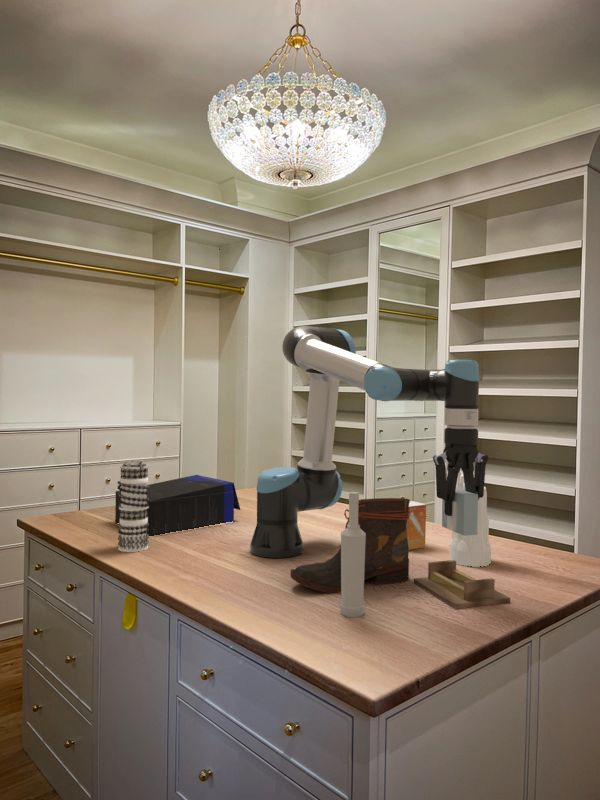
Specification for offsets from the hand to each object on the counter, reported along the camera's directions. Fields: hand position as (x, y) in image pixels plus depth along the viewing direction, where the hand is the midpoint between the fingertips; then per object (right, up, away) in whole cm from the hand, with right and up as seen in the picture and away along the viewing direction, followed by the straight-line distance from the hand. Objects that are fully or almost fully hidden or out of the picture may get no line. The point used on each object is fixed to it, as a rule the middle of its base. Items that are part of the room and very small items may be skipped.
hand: (459, 528), depth 137 cm
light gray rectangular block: (0, 0, 0) cm, 0 cm away
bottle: (-26, -15, -13) cm, 33 cm away
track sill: (0, -15, 0) cm, 15 cm away
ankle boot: (-25, -15, +7) cm, 29 cm away
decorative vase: (+10, -15, +26) cm, 31 cm away
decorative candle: (-85, -13, +35) cm, 93 cm away
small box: (-4, -14, +40) cm, 43 cm away
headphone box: (-79, -13, +69) cm, 105 cm away
